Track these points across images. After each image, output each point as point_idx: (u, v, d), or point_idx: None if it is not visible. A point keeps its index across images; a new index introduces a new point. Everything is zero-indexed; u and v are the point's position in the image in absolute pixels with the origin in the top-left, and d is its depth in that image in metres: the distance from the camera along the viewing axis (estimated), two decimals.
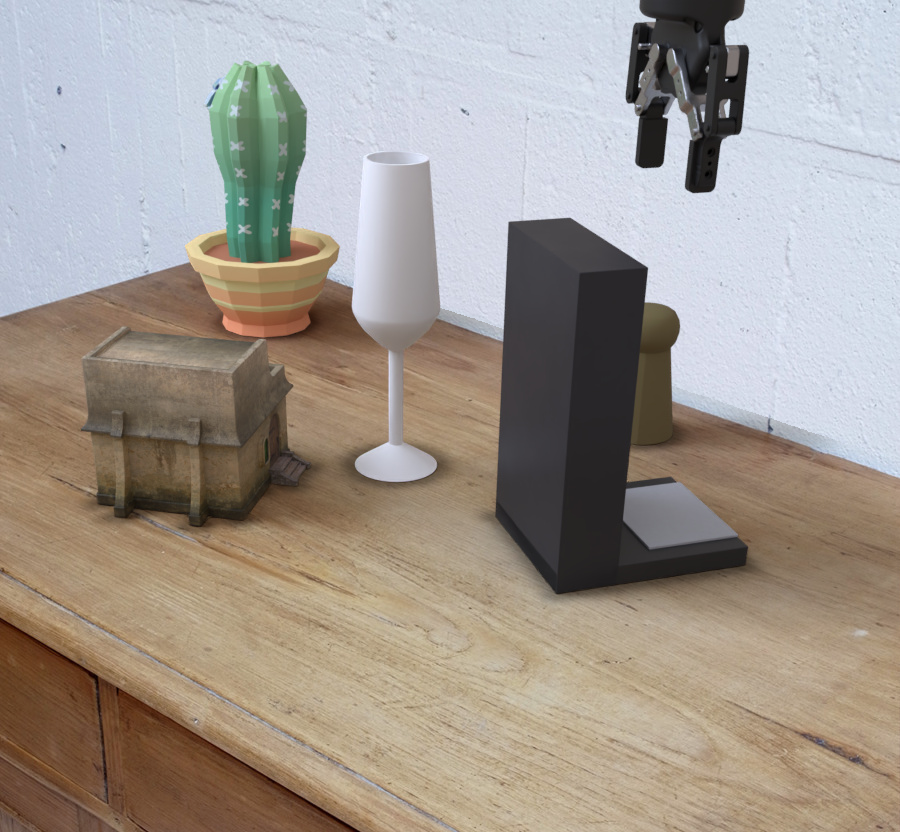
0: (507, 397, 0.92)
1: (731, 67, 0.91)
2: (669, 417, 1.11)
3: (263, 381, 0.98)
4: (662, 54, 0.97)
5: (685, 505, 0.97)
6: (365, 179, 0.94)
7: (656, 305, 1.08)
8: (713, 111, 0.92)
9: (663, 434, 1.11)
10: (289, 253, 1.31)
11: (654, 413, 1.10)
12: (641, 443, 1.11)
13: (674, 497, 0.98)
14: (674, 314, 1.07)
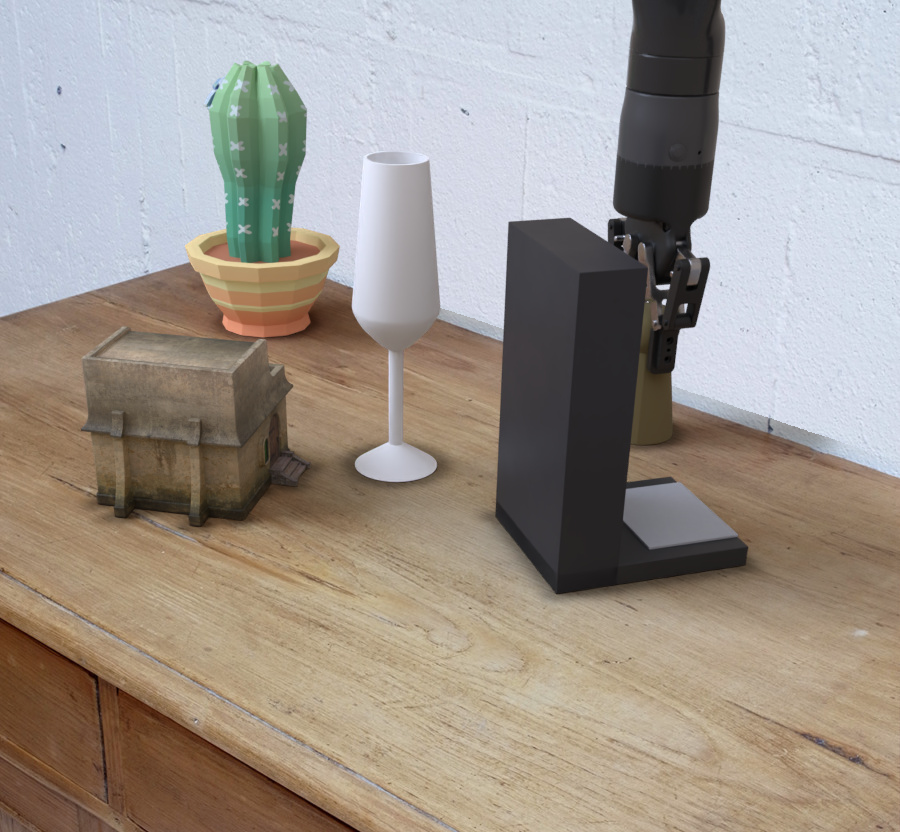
0: (507, 397, 0.92)
1: (692, 279, 1.00)
2: (669, 417, 1.11)
3: (263, 381, 0.98)
4: (634, 244, 1.05)
5: (685, 505, 0.97)
6: (365, 179, 0.94)
7: None
8: (671, 313, 1.02)
9: (663, 434, 1.11)
10: (289, 253, 1.31)
11: (654, 413, 1.10)
12: (641, 443, 1.11)
13: (674, 497, 0.98)
14: None
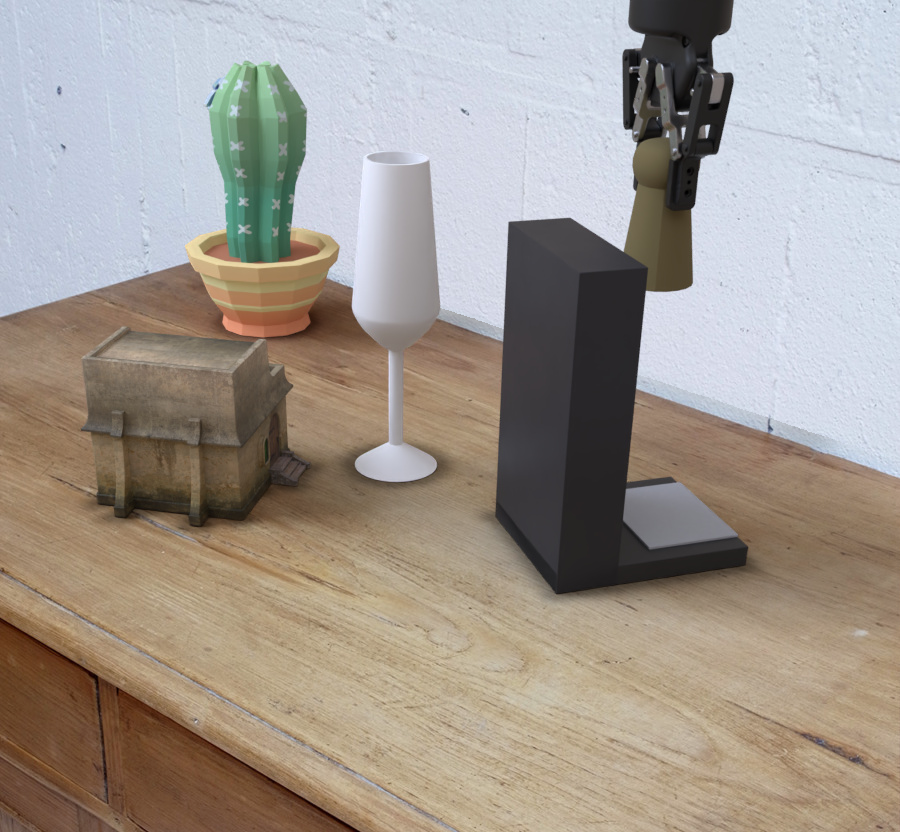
0: (507, 397, 0.92)
1: (714, 96, 0.93)
2: (689, 263, 1.04)
3: (263, 381, 0.98)
4: (651, 68, 0.98)
5: (685, 505, 0.97)
6: (365, 179, 0.94)
7: None
8: (692, 136, 0.95)
9: (683, 281, 1.04)
10: (289, 253, 1.31)
11: (674, 256, 1.03)
12: (659, 290, 1.04)
13: (674, 497, 0.98)
14: None
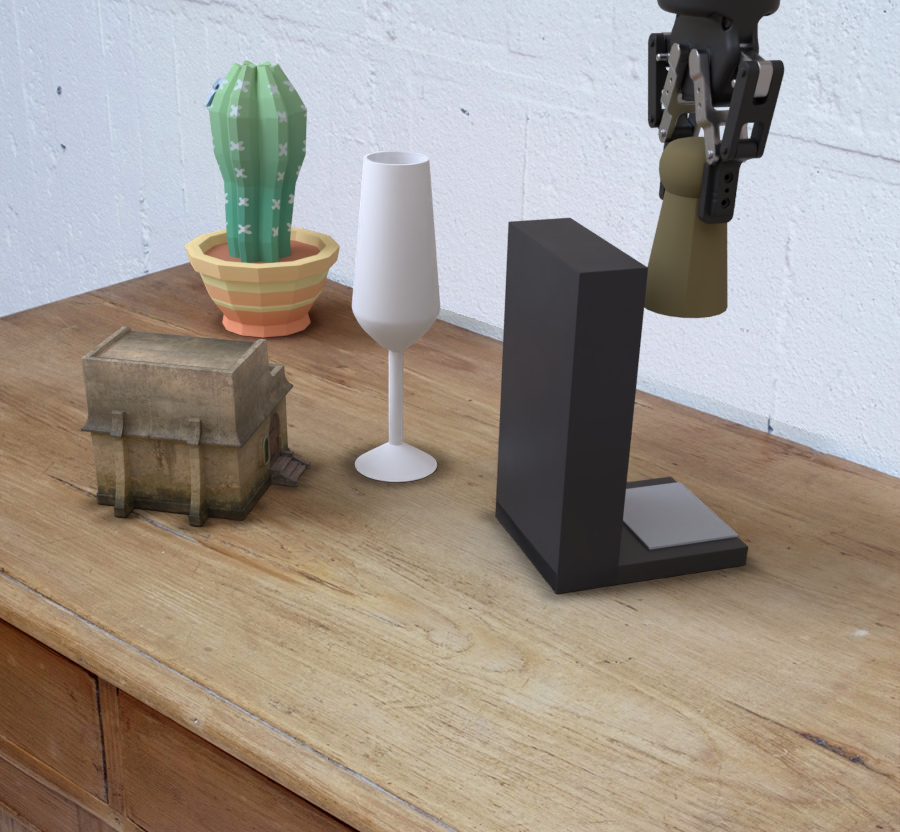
0: (507, 397, 0.92)
1: (761, 88, 0.78)
2: (724, 284, 0.89)
3: (263, 381, 0.98)
4: (683, 55, 0.83)
5: (685, 505, 0.97)
6: (365, 179, 0.94)
7: None
8: (733, 136, 0.80)
9: (716, 305, 0.89)
10: (289, 253, 1.31)
11: (706, 277, 0.87)
12: (689, 316, 0.88)
13: (674, 497, 0.98)
14: None
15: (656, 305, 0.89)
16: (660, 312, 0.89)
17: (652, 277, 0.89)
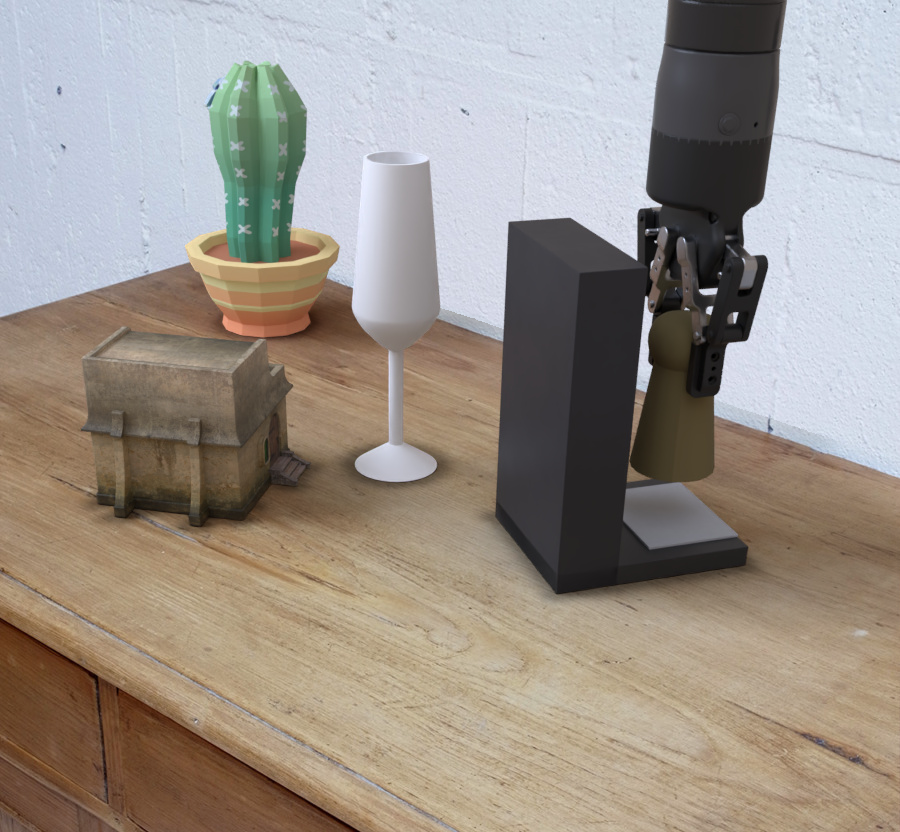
0: (507, 397, 0.92)
1: (746, 282, 0.81)
2: (711, 449, 0.92)
3: (263, 381, 0.98)
4: (671, 239, 0.86)
5: (685, 505, 0.97)
6: (365, 179, 0.94)
7: None
8: (719, 324, 0.82)
9: (704, 469, 0.92)
10: (289, 253, 1.31)
11: (694, 444, 0.90)
12: (677, 480, 0.91)
13: (674, 497, 0.98)
14: None
15: (645, 468, 0.92)
16: (649, 475, 0.92)
17: (642, 442, 0.92)
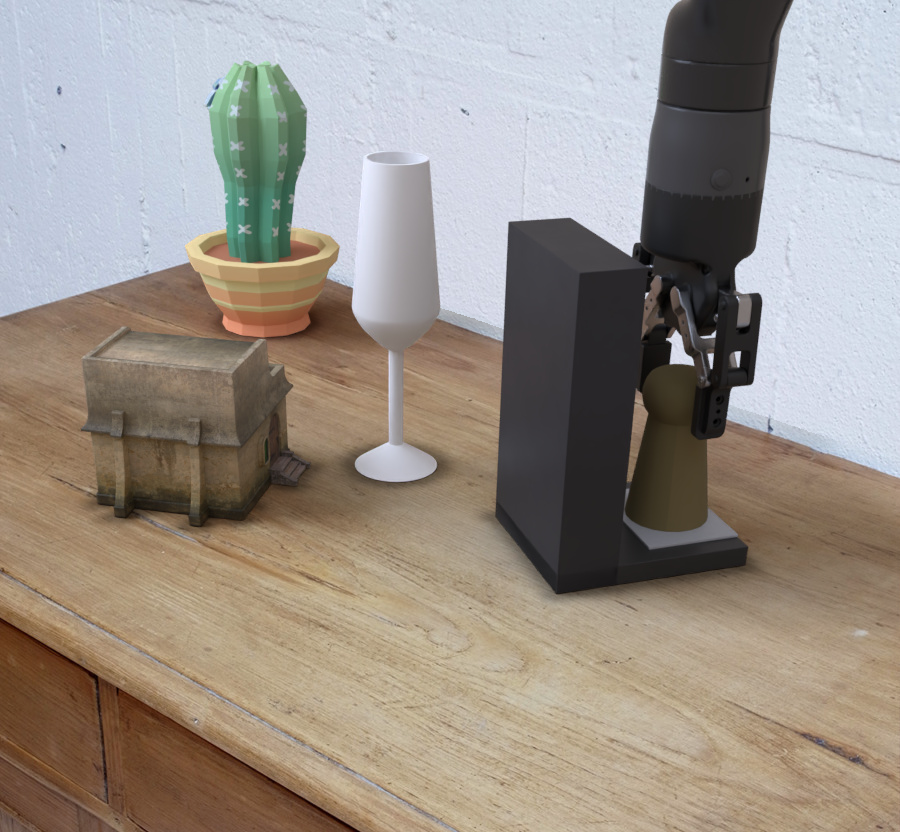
0: (507, 397, 0.92)
1: (742, 318, 0.82)
2: (704, 499, 0.94)
3: (263, 381, 0.98)
4: (665, 287, 0.88)
5: None
6: (365, 179, 0.94)
7: (690, 368, 0.91)
8: (722, 364, 0.83)
9: (697, 519, 0.94)
10: (289, 253, 1.31)
11: (687, 495, 0.92)
12: (671, 530, 0.93)
13: None
14: None
15: (640, 518, 0.94)
16: (644, 525, 0.94)
17: (636, 492, 0.94)
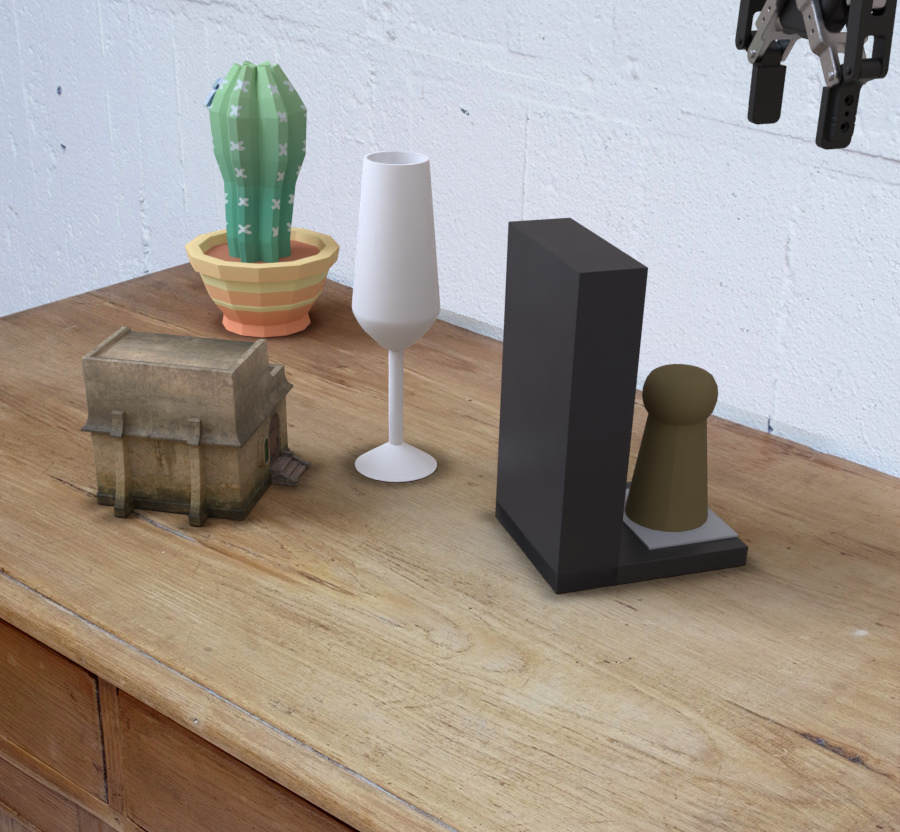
0: (507, 397, 0.92)
1: None
2: (704, 499, 0.94)
3: (263, 381, 0.98)
4: None
5: None
6: (365, 179, 0.94)
7: (690, 368, 0.91)
8: (856, 50, 0.78)
9: (697, 519, 0.94)
10: (289, 253, 1.31)
11: (687, 495, 0.92)
12: (671, 530, 0.93)
13: None
14: (711, 379, 0.90)
15: (640, 518, 0.94)
16: (644, 525, 0.94)
17: (636, 492, 0.94)
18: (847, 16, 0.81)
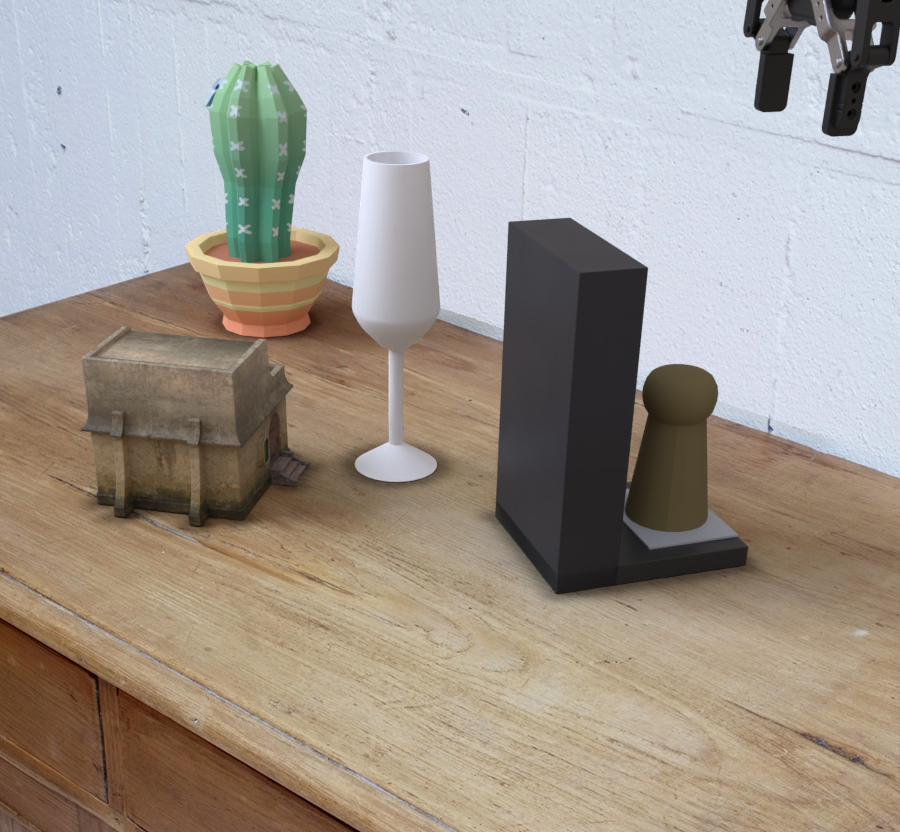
0: (507, 397, 0.92)
1: None
2: (704, 499, 0.94)
3: (263, 381, 0.98)
4: None
5: None
6: (365, 179, 0.94)
7: (690, 368, 0.91)
8: (864, 36, 0.78)
9: (697, 519, 0.94)
10: (289, 253, 1.31)
11: (687, 495, 0.92)
12: (671, 530, 0.93)
13: None
14: (711, 379, 0.90)
15: (640, 518, 0.94)
16: (644, 525, 0.94)
17: (636, 492, 0.94)
18: (856, 3, 0.81)
